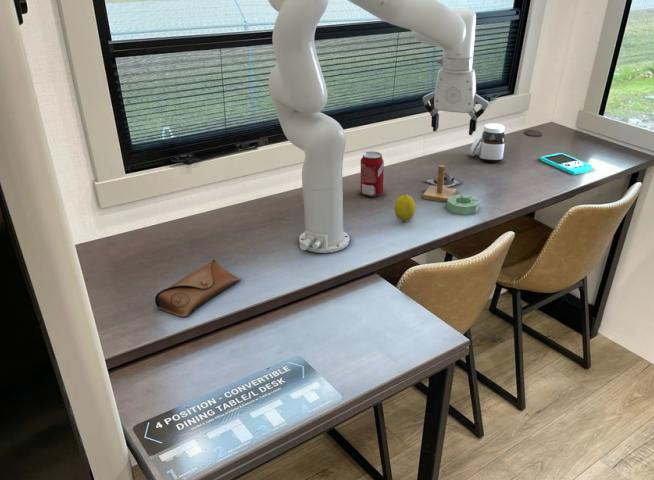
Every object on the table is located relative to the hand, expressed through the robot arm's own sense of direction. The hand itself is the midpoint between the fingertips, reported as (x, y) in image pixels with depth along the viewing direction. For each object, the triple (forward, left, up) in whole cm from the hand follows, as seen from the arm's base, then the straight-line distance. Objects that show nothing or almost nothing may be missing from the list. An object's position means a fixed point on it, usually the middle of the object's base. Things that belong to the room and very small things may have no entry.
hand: (453, 131), depth 159 cm
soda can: (+2, +23, -22) cm, 32 cm away
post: (+8, +4, -22) cm, 24 cm away
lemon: (-13, +8, -22) cm, 27 cm away
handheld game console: (+51, -29, -22) cm, 62 cm away
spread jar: (+46, -2, -22) cm, 51 cm away
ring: (+2, -4, -22) cm, 22 cm away
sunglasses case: (-64, +38, -22) cm, 78 cm away
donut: (+19, +6, -21) cm, 29 cm away
